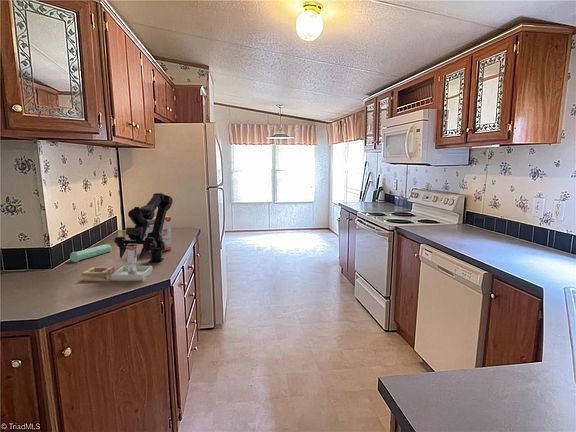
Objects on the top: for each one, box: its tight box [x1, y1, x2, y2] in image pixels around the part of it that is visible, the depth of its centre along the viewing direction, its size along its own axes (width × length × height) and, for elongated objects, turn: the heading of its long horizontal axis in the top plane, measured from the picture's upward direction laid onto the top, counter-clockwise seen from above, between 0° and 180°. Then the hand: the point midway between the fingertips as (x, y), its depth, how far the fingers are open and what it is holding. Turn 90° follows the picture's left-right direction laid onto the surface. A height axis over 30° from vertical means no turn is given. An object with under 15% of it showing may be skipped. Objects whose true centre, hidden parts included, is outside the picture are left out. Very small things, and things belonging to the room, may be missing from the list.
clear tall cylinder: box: [126, 244, 138, 274], centre depth 164 cm, size 5×5×14 cm
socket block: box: [81, 266, 115, 282], centre depth 163 cm, size 10×10×4 cm
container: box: [69, 243, 113, 263], centre depth 199 cm, size 6×6×25 cm
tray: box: [110, 265, 153, 282], centre depth 165 cm, size 14×14×3 cm
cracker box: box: [144, 215, 172, 254], centre depth 212 cm, size 14×6×21 cm, turn 126°
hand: (130, 257), depth 162 cm, fingers open, 9 cm apart
